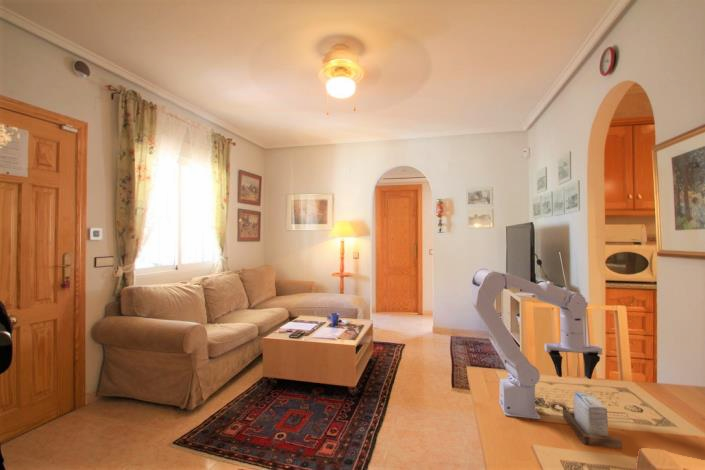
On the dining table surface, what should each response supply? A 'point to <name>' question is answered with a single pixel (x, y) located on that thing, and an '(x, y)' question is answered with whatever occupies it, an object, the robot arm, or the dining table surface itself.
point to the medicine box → (590, 414)
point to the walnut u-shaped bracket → (588, 438)
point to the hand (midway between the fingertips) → (573, 376)
